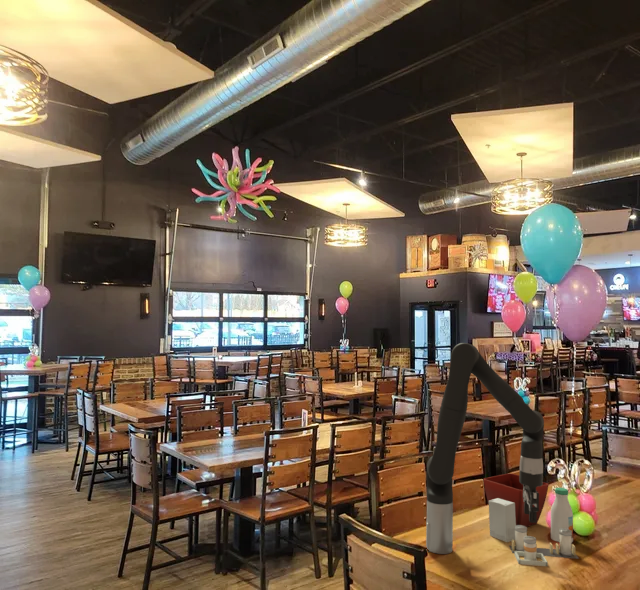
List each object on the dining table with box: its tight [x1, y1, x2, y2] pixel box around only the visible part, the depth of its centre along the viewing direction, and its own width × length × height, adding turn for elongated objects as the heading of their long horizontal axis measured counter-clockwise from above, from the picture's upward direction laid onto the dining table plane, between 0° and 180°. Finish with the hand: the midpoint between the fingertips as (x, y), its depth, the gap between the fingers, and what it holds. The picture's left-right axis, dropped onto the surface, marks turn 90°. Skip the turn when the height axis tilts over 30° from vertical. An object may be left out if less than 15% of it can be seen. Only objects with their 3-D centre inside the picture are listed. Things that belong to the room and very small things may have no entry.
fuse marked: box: [523, 535, 538, 561], centre depth 189 cm, size 4×4×8 cm
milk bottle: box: [550, 487, 574, 543], centre depth 209 cm, size 8×8×20 cm
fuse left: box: [514, 525, 528, 552], centre depth 198 cm, size 4×4×8 cm
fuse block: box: [508, 540, 580, 560], centre depth 196 cm, size 22×7×4 cm, turn 81°
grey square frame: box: [513, 551, 549, 567], centre depth 189 cm, size 9×8×3 cm
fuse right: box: [559, 528, 572, 556], centre depth 195 cm, size 4×4×8 cm
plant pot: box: [483, 472, 549, 528], centre depth 231 cm, size 19×19×17 cm
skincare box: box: [488, 498, 516, 543], centre depth 210 cm, size 8×6×15 cm
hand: (530, 518), depth 189 cm, fingers open, 8 cm apart
